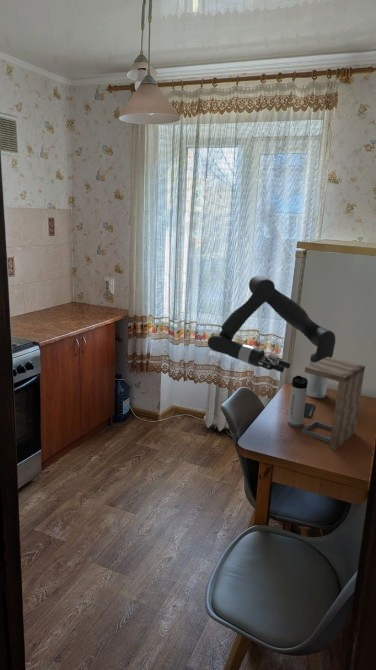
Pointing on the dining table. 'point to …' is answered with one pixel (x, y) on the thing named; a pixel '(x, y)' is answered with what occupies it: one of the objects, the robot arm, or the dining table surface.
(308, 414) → the phone
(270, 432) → the dining table surface
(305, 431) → the seat frame
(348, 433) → the overhang shelf
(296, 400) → the travel mug
